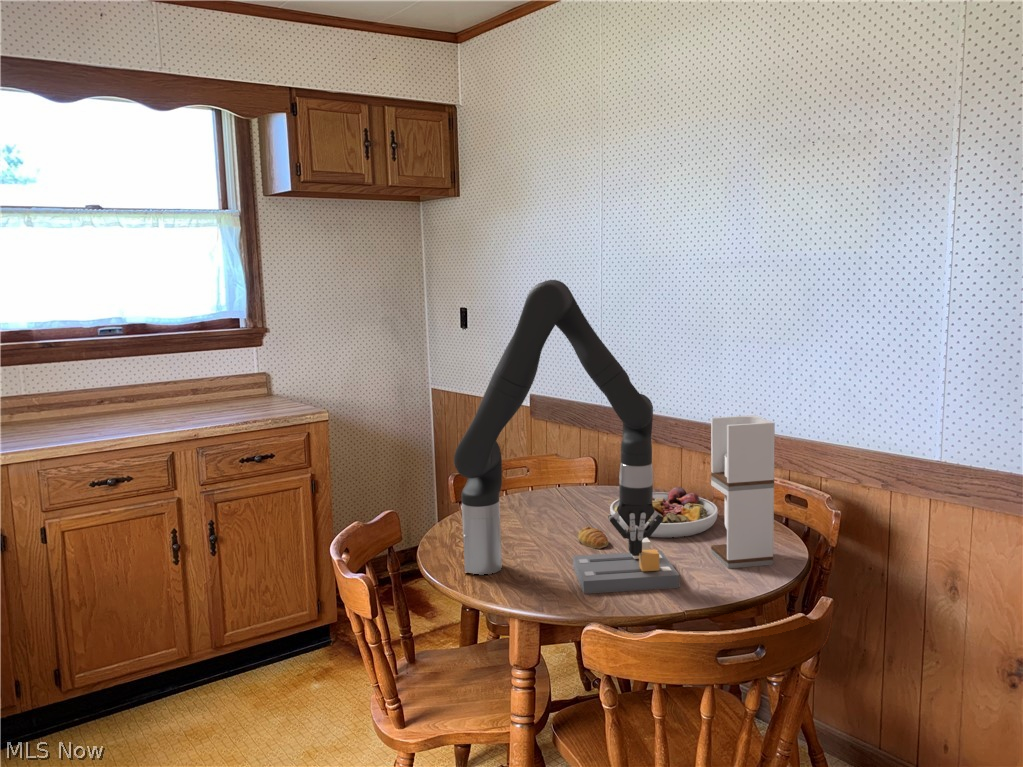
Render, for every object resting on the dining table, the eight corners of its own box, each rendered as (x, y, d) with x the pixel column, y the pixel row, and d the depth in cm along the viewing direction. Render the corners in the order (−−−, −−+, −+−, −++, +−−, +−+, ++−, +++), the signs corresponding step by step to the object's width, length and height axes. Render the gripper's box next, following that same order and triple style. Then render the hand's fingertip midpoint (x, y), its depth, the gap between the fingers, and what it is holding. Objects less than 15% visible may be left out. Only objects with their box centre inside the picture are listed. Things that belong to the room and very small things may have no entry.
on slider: (634, 558, 189) (633, 542, 188) (631, 554, 192) (631, 538, 191) (650, 557, 189) (650, 541, 189) (647, 553, 192) (647, 537, 192)
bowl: (698, 548, 205) (698, 519, 204) (593, 532, 220) (592, 505, 219) (730, 515, 230) (730, 489, 229) (633, 503, 246) (633, 479, 245)
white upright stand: (753, 549, 202) (755, 414, 197) (773, 564, 191) (774, 422, 186) (711, 553, 200) (711, 417, 195) (728, 568, 190) (728, 425, 185)
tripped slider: (642, 571, 181) (642, 554, 180) (639, 566, 184) (639, 550, 183) (659, 570, 181) (659, 553, 181) (656, 565, 184) (655, 549, 184)
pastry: (615, 547, 208) (615, 533, 207) (594, 552, 205) (593, 538, 204) (595, 537, 216) (595, 523, 215) (574, 542, 213) (574, 528, 212)
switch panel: (583, 593, 178) (583, 580, 178) (573, 567, 194) (572, 555, 194) (679, 587, 180) (679, 574, 179) (661, 562, 195) (661, 550, 195)
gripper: (610, 487, 175) (610, 561, 178) (669, 485, 176) (667, 559, 179) (604, 478, 183) (603, 550, 185) (660, 476, 184) (659, 547, 186)
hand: (635, 554), depth 182 cm, fingers closed
